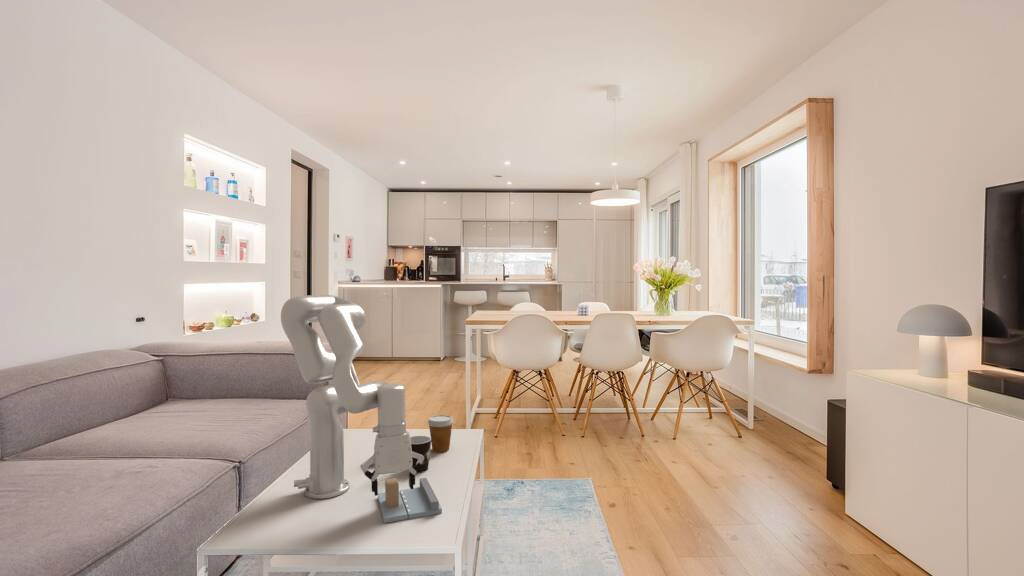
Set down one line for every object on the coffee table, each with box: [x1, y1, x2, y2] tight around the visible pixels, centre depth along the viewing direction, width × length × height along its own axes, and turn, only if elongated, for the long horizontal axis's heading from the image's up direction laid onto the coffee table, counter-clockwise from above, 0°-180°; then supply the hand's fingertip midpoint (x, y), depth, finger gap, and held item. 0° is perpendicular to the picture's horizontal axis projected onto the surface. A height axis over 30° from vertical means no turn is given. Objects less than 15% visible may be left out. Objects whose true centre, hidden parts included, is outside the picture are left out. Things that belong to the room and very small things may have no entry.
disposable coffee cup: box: [427, 414, 454, 453], centre depth 180 cm, size 10×10×12 cm
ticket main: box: [399, 477, 443, 520], centre depth 137 cm, size 9×17×4 cm, turn 21°
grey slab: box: [377, 477, 409, 524], centre depth 134 cm, size 6×16×7 cm, turn 21°
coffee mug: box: [410, 435, 432, 474], centre depth 163 cm, size 12×9×10 cm
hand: (393, 490), depth 133 cm, fingers open, 9 cm apart
